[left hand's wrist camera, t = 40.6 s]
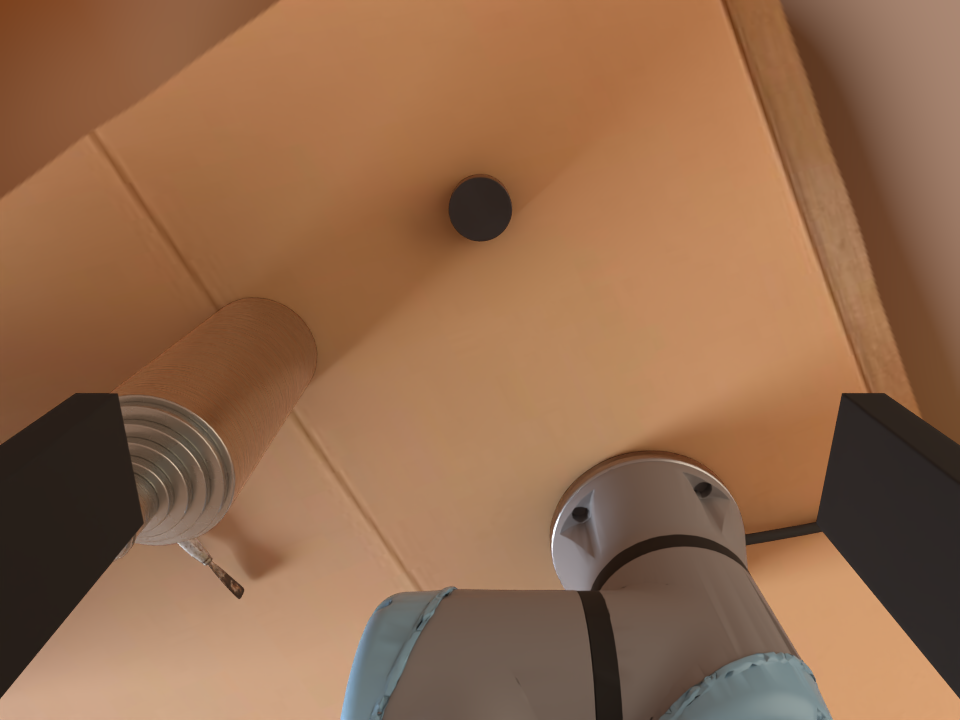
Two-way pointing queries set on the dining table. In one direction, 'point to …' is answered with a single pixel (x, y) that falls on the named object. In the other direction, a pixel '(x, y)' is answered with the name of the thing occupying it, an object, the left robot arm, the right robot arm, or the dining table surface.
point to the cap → (480, 207)
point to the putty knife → (211, 565)
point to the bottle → (211, 414)
